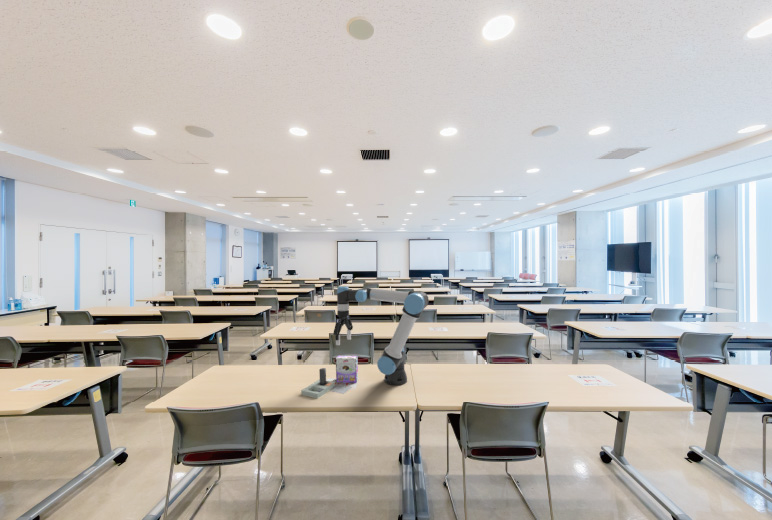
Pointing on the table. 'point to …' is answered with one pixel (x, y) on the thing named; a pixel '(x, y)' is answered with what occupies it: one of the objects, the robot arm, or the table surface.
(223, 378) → the table surface
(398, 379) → the robot arm
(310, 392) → the port box
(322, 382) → the plug
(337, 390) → the mat
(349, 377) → the candy box
